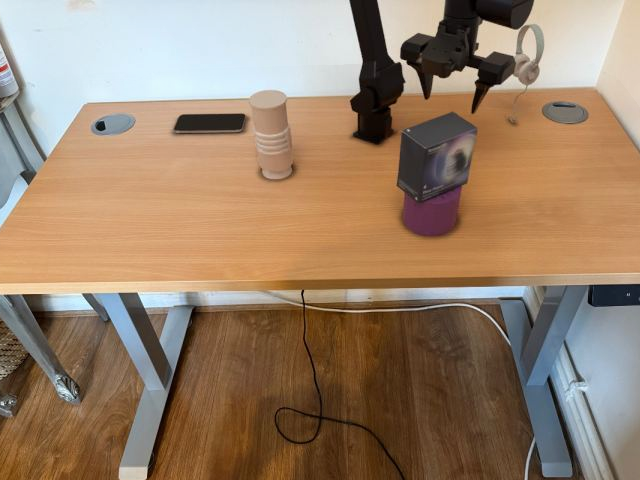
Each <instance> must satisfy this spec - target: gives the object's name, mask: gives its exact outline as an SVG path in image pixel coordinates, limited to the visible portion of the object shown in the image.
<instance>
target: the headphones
mask: <svg viewBox="0 0 640 480" xmlns="http://www.w3.org/2000/svg"><path fill="white" fill-rule="evenodd" d="M529 29H531V30H532V32H533V35H534V37H535V45H536V46H535V47H536V48H535V49H536V52H535V53H536V54H535V58H533V60H531V58H530V57H529V56H528V55H527V54H526V53H524V51H523V41H524V37H525V36H526V33H527V32H528V30H529ZM544 51H545V37H544V33H543V30H542V28H541V27H540V26H539V25H538V24H536V23H532V24H531V23H530V24H524V25H523V26H522V27H521V28H519V31H518V33H517V38H516V50H515V55H514V59H515V61H516V66H515V70H514V73H513V74H512V76H513V77H515V78H517V79H518V81H519V82H520V83H521V84H522V85H524V86H526V87H525V90H524V91H522V92H520V93H519V94H518V95H517V96H516V97H515V99H514V104H513V105H514V112H515V119H514V121H513V120H512V118H511V116H509V117H508V118H509V121H510V123H513V124H515V123H516V121H517V119H518V113H517V106H516V102H517V99H518V97H520V96H521V95H522V94H525V93H526V91H527V89H528V87H529V86H530V85H532V84H534V83H535V82H536V81H537V79H538V78H539V76H540V71H541V69H540V65H539V64H540V62H541V59H542V57H543V54H544Z"/></svg>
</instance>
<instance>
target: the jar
mask: <svg viewBox="0 0 640 480" xmlns="http://www.w3.org/2000/svg"><path fill="white" fill-rule="evenodd" d="M462 188H463V185H462V186H460V187H457V188H455V189H452V190H450V191H448V192H445V193H443V194H441V195H438V196H436V197H433V198H431V199H429V200H426V201H424V202H422V203H419V204H418V203H417V202H416V201H414V200H413V199H412V198H411V197H410V196H408V195H407V194H406V193H405V192H404V195H403V208H402V220H403V223H404V225H405V227H406V228H407V229H408V230H410V231H411V232H413V233H415V234H417V235H420V236H426V237H439V236H443V235H445V234H448V233H449V232H451V231H452V230H453V229H454V228H455V226H456V224H457V218H458V213H459V207H460V201H461V196H462V195H461V194H462Z"/></svg>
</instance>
